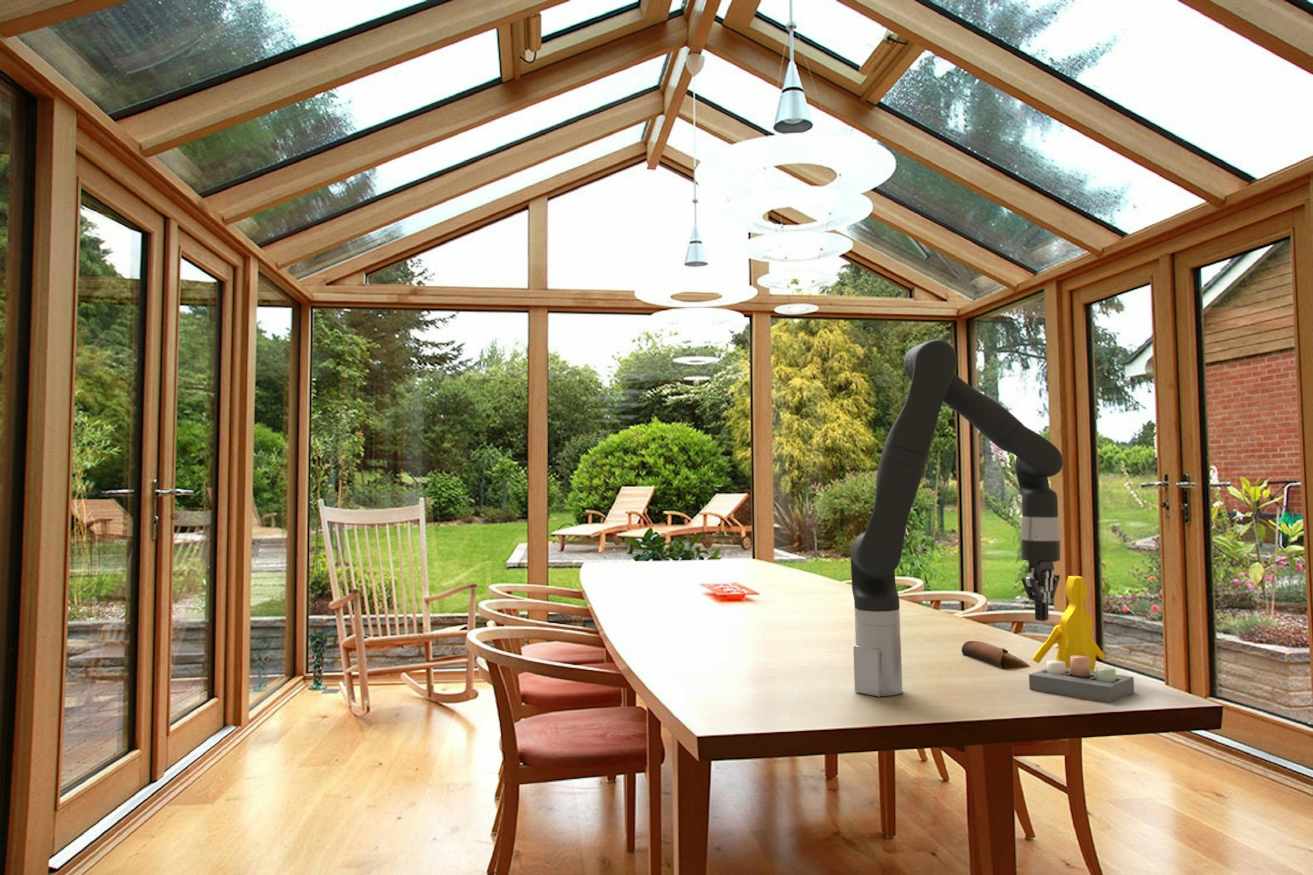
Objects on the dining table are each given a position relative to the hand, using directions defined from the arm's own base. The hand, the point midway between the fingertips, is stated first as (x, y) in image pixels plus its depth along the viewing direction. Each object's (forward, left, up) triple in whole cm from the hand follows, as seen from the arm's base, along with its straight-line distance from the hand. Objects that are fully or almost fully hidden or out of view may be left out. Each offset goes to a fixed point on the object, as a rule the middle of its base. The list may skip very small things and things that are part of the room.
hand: (1041, 620), depth 183 cm
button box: (+2, -7, -14) cm, 16 cm away
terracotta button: (+2, -7, -11) cm, 13 cm away
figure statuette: (+15, 0, -14) cm, 21 cm away
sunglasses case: (+18, +20, -15) cm, 30 cm away
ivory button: (+2, -2, -12) cm, 13 cm away
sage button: (+2, -12, -12) cm, 17 cm away
